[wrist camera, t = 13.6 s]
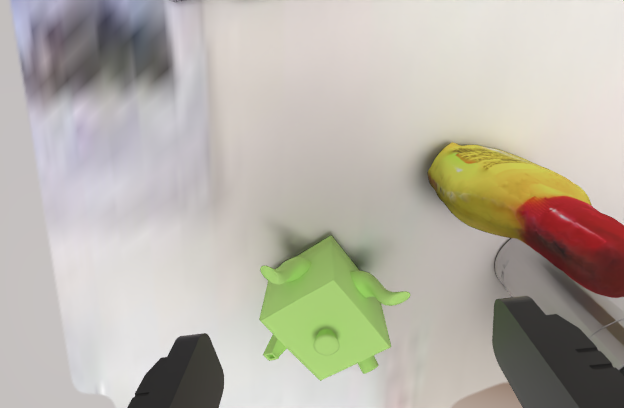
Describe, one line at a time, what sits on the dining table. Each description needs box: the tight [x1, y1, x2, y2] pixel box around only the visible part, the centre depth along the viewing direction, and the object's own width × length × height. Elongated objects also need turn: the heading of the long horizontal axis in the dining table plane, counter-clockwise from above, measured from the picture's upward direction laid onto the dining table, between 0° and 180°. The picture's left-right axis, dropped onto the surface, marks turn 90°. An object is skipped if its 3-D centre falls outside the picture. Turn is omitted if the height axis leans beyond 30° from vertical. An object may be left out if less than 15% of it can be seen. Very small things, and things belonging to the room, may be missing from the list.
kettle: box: [259, 235, 410, 381], centre depth 38 cm, size 15×14×11 cm
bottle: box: [428, 142, 624, 298], centre depth 27 cm, size 12×6×20 cm, turn 81°
